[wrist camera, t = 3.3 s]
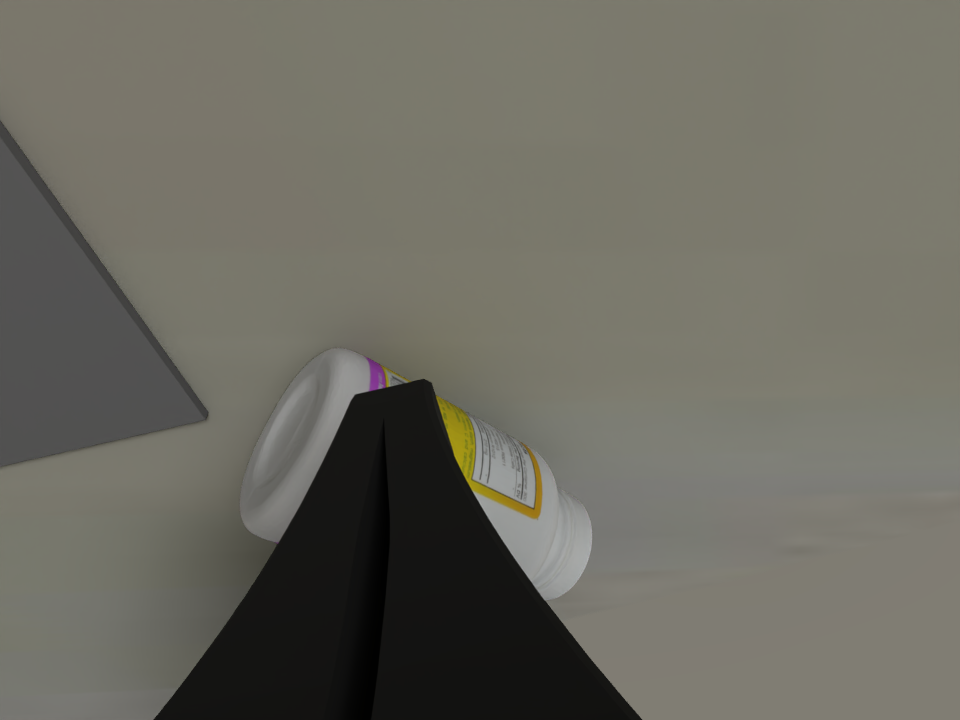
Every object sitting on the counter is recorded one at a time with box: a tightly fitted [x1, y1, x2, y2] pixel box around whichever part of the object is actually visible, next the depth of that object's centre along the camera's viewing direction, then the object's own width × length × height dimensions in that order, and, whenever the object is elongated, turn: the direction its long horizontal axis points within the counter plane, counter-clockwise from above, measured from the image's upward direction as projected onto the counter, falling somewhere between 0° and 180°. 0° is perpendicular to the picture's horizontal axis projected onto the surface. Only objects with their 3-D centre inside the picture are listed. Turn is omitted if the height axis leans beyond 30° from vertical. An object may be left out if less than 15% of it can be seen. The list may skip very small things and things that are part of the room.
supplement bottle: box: [240, 348, 592, 600], centre depth 21 cm, size 7×7×13 cm
